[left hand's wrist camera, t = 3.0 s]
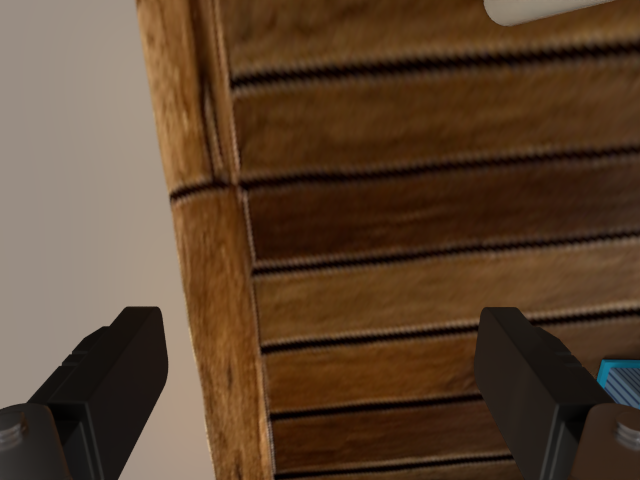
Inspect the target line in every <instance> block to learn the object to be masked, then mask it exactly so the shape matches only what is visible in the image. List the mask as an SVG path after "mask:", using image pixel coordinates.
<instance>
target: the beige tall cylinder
mask: <svg viewBox="0 0 640 480" xmlns="http://www.w3.org/2000/svg"><path fill="white" fill-rule="evenodd" d="M610 1H614V0H484V6H485V9H486V12H487V14H488V15H489V17H490V18H491V19H492V20H493V21H494V22H496V23H498V24H500V25H503V26H515V25H519V24H523V23H527V22H531V21H535V20H539V19H543V18H547V17H551V16H554V15H558V14H562V13H566V12H570V11H574V10H578V9H582V8H586V7H590V6H594V5H598V4H602V3H606V2H610Z"/></svg>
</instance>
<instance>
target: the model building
mask: <svg viewBox="0 0 640 480" xmlns="http://www.w3.org/2000/svg"><path fill="white" fill-rule="evenodd" d="M597 382H598V383H599V384H600V385H601V386H602V387H603V389H604V390H605V391H606V392H607V393H608V394H609V395H610V396H611V397H612V398H613V400H614V401H615V402H616V403H617V404H623V405H628V406H631V407H634V408H637V409H640V360H602V363H601V366H600V370H599V373H598V377H597Z"/></svg>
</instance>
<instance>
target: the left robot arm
mask: <svg viewBox="0 0 640 480" xmlns="http://www.w3.org/2000/svg"><path fill="white" fill-rule="evenodd" d="M474 374H475V379H476V383H477V386H478V388H479V390H480V392H481V394H482V396H483V398H484V400H485V402H486V404H487V406H488V408H489V410H490V412H491V414H492V416H493V418H494V420H495V422H496V424H497V426H498V428H499V430H500V432H501V434H502V436H503V438H504V440H505V442H506V444H507V446H508V448H509V450H510V452H511V454H512V456H513V458H514V460H515V462H516V464H517V466H518V468H519V470H520V471H521V473H522V475H523V477H524V479H525V480H640V409H637V408H634V407H631V406H628V405H623V404H617V403H616V402H615V401H614V400H613V398H612V397H611V396H610V395H609V394H608V393H607V392H606V391H605V390H604V389H603V387H602V386H601V385H600V384H599V383H598V382H597V381H596V380H595V379H594V377H593V376H592V375H591V374H590V373H589V372H588V371H587V370H586V369H585V367H582V366H581V363H580V362H579V361H578V360H577V359H576V357H575V356H574V355H571V352H570V351H569V350H568V349H567V347H566V346H565V345H564V344H563V343H562V342H561V341H560V340H559V339H558V338H556V337H555V336H553V335H552V334H550V333H548V332H547V331H545V330H543V329H542V328H540V327H533V326H532V325H531V324H530V322H529V321H528V320H527V319H526V318H525V316H524V315H523V314H522V313H521V312H520V310H519V309H518V308H516V307H485V308H484V309H483V310H482V312H481V316H480V322H479V329H478V337H477V344H476V351H475V358H474ZM167 375H168V355H167V348H166V340H165V333H164V326H163V318H162V313H161V310H160V308H159V307H126V308H124V309H123V311H122V312H121V313H120V314H119V315H118V317H117V318H116V319H115V320H114V321H113V323H112V324H111V325H110V326H103V327H101V328H100V329H98V330H96V331H95V332H93V333H92V334H90V335H88V336H87V337H85V338H84V339H83V340H82V341H81V342H80V343H79V344H78V345H77V347H76V348H75V349H74V350H73V351H72V354H70V355H69V356H68V357H67V358H66V359H65V360H64V361H63V362H62V366H59V367H58V368H57V369H56V370H55V371H54V372H53V373H52V375H51V376H50V377H49V378H48V379H47V380H46V381H45V382H44V384H43V385H42V386H41V387H40V388H39V389H38V390H37V391H36V392H35V394H34V395H33V396H32V397H31V398H30V399H29V400H28V402H27V403H23V404H17V405H12V406H9V407H6V408H3V409H0V480H118V478H119V476H120V474H121V472H122V470H123V468H124V466H125V464H126V462H127V460H128V458H129V456H130V454H131V452H132V450H133V448H134V446H135V444H136V442H137V440H138V438H139V436H140V434H141V432H142V430H143V428H144V426H145V424H146V422H147V420H148V418H149V416H150V414H151V412H152V410H153V408H154V406H155V404H156V402H157V400H158V398H159V396H160V394H161V392H162V390H163V388H164V386H165V383H166V380H167Z"/></svg>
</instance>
